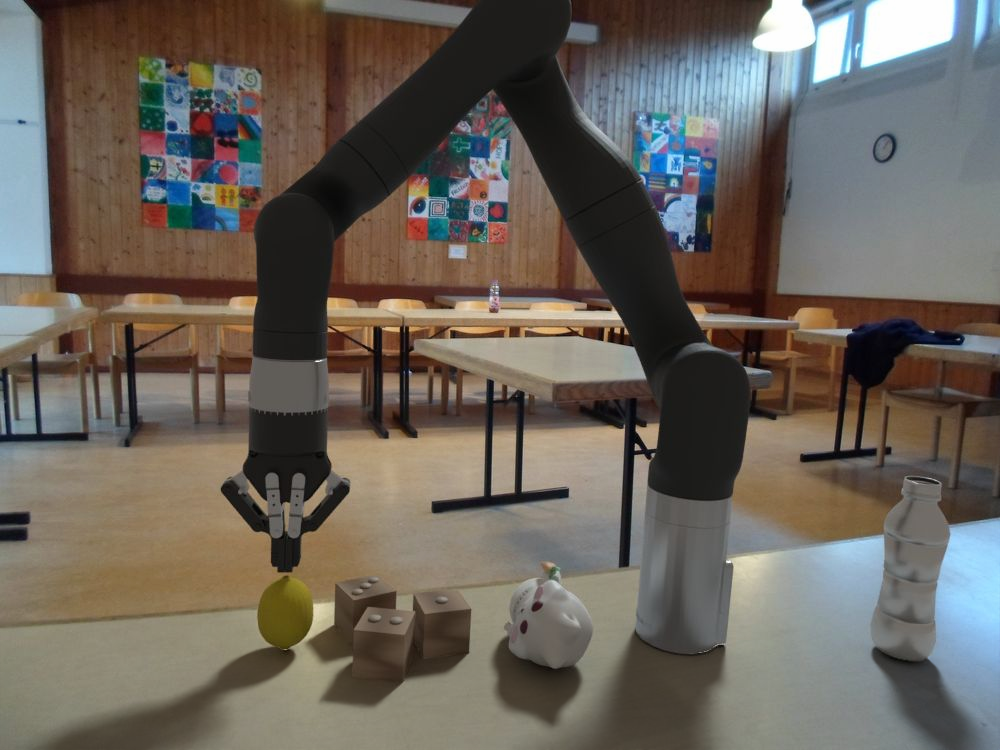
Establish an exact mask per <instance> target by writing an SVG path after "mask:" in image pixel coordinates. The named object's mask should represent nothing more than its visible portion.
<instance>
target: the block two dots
mask: <svg viewBox="0 0 1000 750" xmlns="http://www.w3.org/2000/svg"><path fill="white" fill-rule="evenodd" d="M415 612H416V611H413V610H407V609H405V610H404V609H397V608H396V609H385V608H375V607H367V609H366V611H365V612H364V614H363V616H362V617H361V619H360V620H359V622H358V624H357V625H356V627H355V629H354V637H353V644H352V645H353V647H352V671H351V672H352V677H351V678H352V679H362V680H363V679H364V680H374V681H384V682H393V683H401V684H402V683H404V681H405V678H406V676H407V673H408V672H409V670H410V669H409V668H410V667H411V664H412V661H413V659H414V655H415V642H414V636H415Z"/></svg>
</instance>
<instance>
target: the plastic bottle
mask: <svg viewBox="0 0 1000 750" xmlns="http://www.w3.org/2000/svg"><path fill="white" fill-rule="evenodd" d="M942 484H943V483H942V482H941V481H939V480H937V479H934V478H930V477H925V476H918V475H908V476H904V479H903V484H902V488H901V493H900V494H901V495H902V496H903V498H902V499H901V500H900V501H899V502H898V503H897V504H895V506H893V508H891V510H890V511H888V513H887V514H886V516H885V519H884V521H883V531H884V532H883V541H884V542H883V543H884V545H883V548H884V549H883V550H884V553H883V554H884V557H883V572H882V581H881V585H880V590H879V595H878V598H877V603H876V606H875V608H874V609H873V612H872V613H873V614H872V617H871V620H870V625H869V626H870V627H869V628H870V637H871V638H870V639H871V640H872V642H873V643H874V646H875V645H876V646H875V647H876V648H877V649H878V650H879V651H881V652H882V653H883V654H886V655H888V656H890V657H893V658H894V659H898V660H901V659H902V660H903V661H906V660H908V661H907V662H922V661H924V659H925V660H926V659H927V658H928V657H930V656H931V654H933V652H934V648H935V646H936V642H937V625H936V620H935V619H936V617H935V615H936V596H937V588H938V581H939V580H940V579H939V577H940V573H941V568H942V565H943V562H944V558H945V555H946V553H947V549H948V547H949V545H948V544H949V543H950V537H951V529H950V525H949V523H948V521H947V519H946V516H945V515H944V513H943V511H942V510H941V508H940V506H939V505H938V503H939V502H941V501H942V495H941V493H942V487H943V486H942ZM921 660H922V661H921Z"/></svg>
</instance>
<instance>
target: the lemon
mask: <svg viewBox="0 0 1000 750" xmlns="http://www.w3.org/2000/svg"><path fill="white" fill-rule="evenodd" d="M313 601H314V600H313V597H312V594H311V591H310V589H309V588H308V587H307V585H306V584H305V583H304V582H302V581H301V580H299V579H297V578H294V577H291V576H290V575H283V576H282V577H281V578H278V579H276V580H274V581H272V582H271V583H270V584H269V585H268V586H267V587H266V588H264V591H263V592H262V594H261V596H260V599H259V603H258V607H257V614H256V615H257V616H256V617H257V618H256V619H257V626H258V631H259V633H260V636H261V637H262V638H263V640H264V641H265V642H266V643H268V644H269V645H270V646H272V647H275V648H279V649H280V648H281V649H280V650H282V649H288V648H289V649H290V648H292V647H293V646H296V645H298V644H299V643H301V642H302V641H303V640H304V639H305V638H306V637H307V636H308V633H309V632H310V630H311V628H312V625H313V621H314V602H313ZM289 649H288V650H289Z"/></svg>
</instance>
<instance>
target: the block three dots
mask: <svg viewBox="0 0 1000 750" xmlns="http://www.w3.org/2000/svg"><path fill="white" fill-rule="evenodd" d="M334 583H335V584H334V614H333V615H334V617H333V619H334V621H333V625H334V627H336V628H337V630H339V631H340V633H341V634H342V635H343V636H344V637H345V638H346V640H348V641H349V643H350V644H351V645H353V637H354V629H355V627H356V625H357V624H358V622H359V620H360V619H361V617H362V616H363V614H364V612H365V611H366V609H367V607H375V608H385V609H396V610H397V593H398V592H397V591H398V590H396V589H395V588H394V587H393V586H391V584H389V583H388V582H387V581H385V579H383V578H382V577H381V576H380V575H378V574H377V573H376V574H370V575H367V576H362V577H361V576H360V577H356V578H352V579H346V580H342V581H338V582H337V581H336V582H334Z"/></svg>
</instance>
